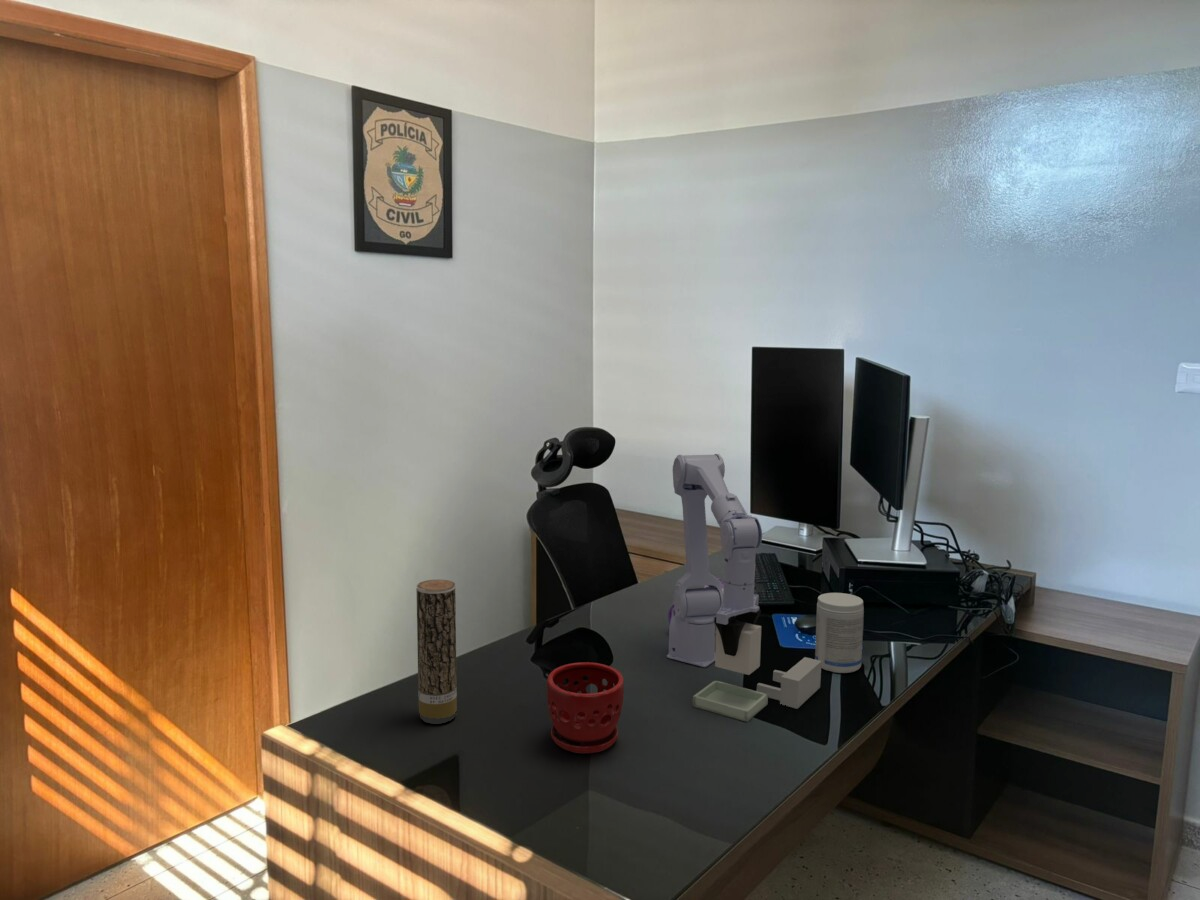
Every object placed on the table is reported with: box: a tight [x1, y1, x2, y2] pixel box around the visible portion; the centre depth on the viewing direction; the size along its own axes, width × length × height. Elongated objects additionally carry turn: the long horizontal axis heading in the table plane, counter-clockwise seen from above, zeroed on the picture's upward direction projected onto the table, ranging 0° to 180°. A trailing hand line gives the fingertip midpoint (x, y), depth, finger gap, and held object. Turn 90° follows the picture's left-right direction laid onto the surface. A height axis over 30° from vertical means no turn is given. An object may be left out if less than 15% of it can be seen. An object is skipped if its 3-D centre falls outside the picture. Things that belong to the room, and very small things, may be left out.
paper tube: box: [415, 579, 458, 719], centre depth 158 cm, size 7×7×25 cm
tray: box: [692, 680, 769, 723], centre depth 167 cm, size 11×9×2 cm
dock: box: [756, 656, 822, 710], centre depth 173 cm, size 9×12×6 cm
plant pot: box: [546, 661, 625, 754], centre depth 151 cm, size 13×13×12 cm
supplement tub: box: [814, 592, 865, 674], centre depth 186 cm, size 10×10×15 cm
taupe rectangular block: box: [714, 623, 762, 676], centre depth 168 cm, size 8×5×8 cm, turn 56°
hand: (736, 650), depth 168 cm, fingers closed on taupe rectangular block, 5 cm apart
